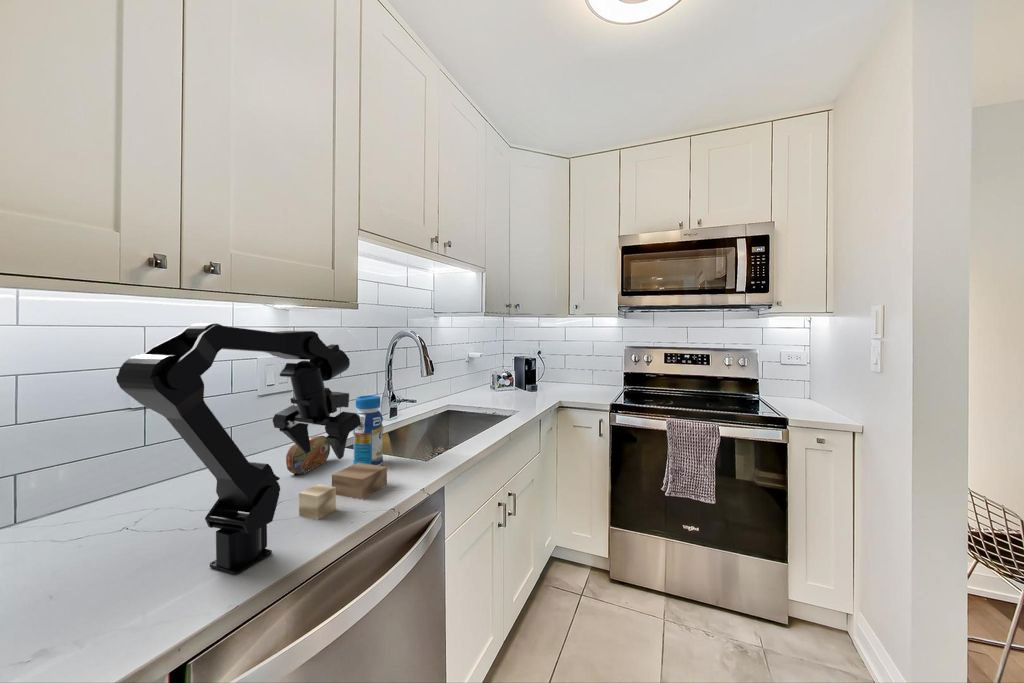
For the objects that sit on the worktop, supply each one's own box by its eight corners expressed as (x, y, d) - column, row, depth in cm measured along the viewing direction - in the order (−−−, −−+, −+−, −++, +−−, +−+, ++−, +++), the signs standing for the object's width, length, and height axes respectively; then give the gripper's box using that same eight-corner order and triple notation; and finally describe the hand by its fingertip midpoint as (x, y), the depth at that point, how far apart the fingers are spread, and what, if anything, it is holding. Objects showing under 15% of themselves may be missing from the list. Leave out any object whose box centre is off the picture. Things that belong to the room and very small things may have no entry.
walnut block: (362, 500, 90) (362, 479, 90) (331, 495, 93) (331, 474, 93) (386, 486, 98) (386, 466, 98) (358, 481, 101) (358, 462, 101)
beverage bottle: (350, 463, 114) (349, 396, 114) (379, 458, 119) (379, 393, 118) (356, 472, 107) (355, 400, 107) (386, 466, 112) (386, 397, 111)
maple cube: (317, 520, 80) (317, 496, 80) (299, 516, 82) (299, 492, 82) (335, 509, 85) (335, 487, 85) (318, 506, 87) (318, 484, 86)
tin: (293, 478, 103) (293, 447, 102) (283, 477, 103) (283, 446, 103) (331, 460, 117) (331, 432, 117) (322, 459, 118) (321, 432, 118)
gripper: (371, 378, 84) (382, 441, 89) (306, 372, 90) (319, 431, 95) (334, 399, 74) (348, 469, 79) (263, 391, 80) (280, 457, 85)
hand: (324, 455), depth 85 cm, fingers open, 9 cm apart
